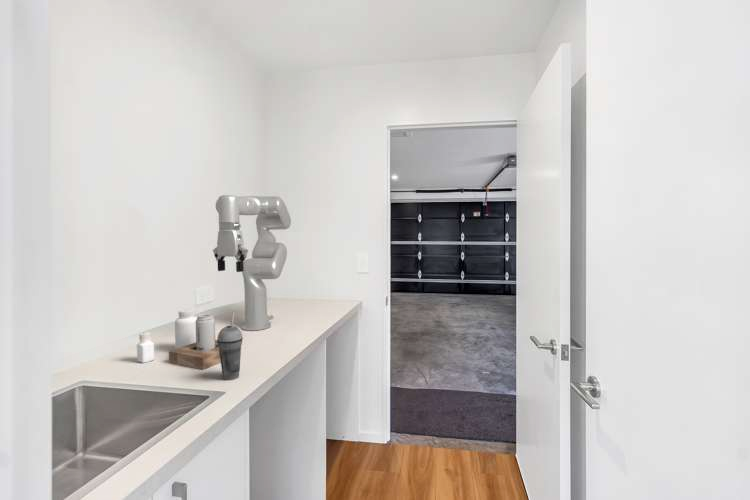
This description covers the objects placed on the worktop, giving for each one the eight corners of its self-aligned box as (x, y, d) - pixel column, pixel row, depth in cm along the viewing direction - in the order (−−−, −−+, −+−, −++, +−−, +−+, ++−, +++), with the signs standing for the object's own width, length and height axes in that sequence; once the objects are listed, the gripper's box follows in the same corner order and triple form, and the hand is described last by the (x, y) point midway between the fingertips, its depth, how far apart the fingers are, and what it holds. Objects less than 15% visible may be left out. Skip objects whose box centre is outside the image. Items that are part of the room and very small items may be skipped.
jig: (208, 349, 142) (208, 338, 142) (240, 354, 135) (240, 343, 135) (169, 362, 128) (168, 351, 127) (203, 369, 121) (202, 357, 121)
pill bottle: (190, 354, 136) (188, 312, 136) (170, 353, 138) (169, 312, 137) (204, 347, 144) (203, 308, 143) (185, 346, 146) (184, 307, 145)
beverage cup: (217, 375, 116) (215, 310, 115) (243, 371, 119) (241, 308, 118) (218, 383, 110) (216, 315, 109) (244, 379, 112) (243, 312, 111)
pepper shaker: (155, 360, 130) (154, 332, 130) (143, 363, 127) (141, 335, 126) (148, 358, 132) (147, 331, 132) (136, 361, 129) (135, 334, 128)
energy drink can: (194, 358, 132) (192, 315, 131) (211, 354, 136) (210, 312, 135) (200, 362, 127) (199, 318, 127) (218, 358, 132) (217, 315, 131)
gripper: (253, 227, 148) (254, 271, 149) (220, 227, 155) (222, 269, 156) (238, 227, 141) (240, 273, 142) (205, 227, 148) (206, 271, 149)
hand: (230, 271), depth 149 cm, fingers open, 9 cm apart
